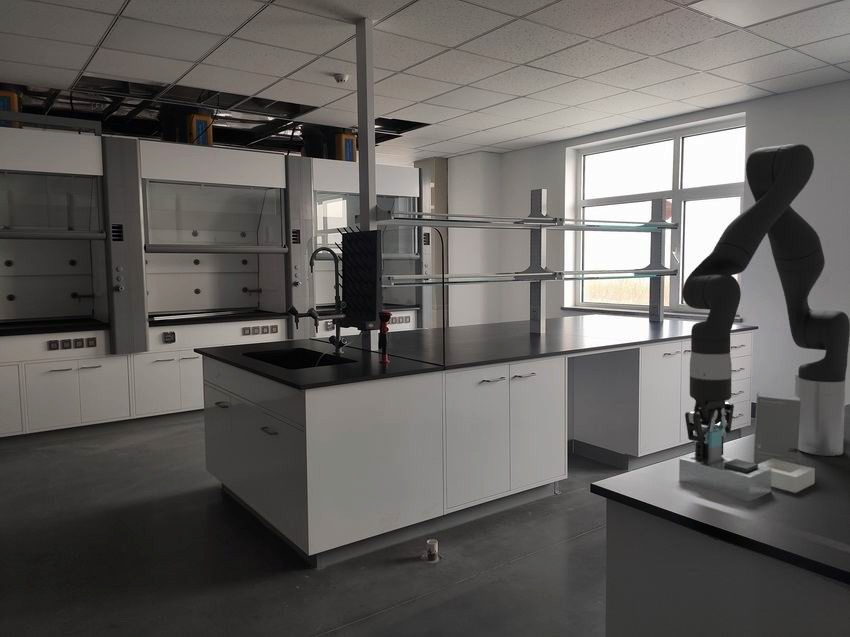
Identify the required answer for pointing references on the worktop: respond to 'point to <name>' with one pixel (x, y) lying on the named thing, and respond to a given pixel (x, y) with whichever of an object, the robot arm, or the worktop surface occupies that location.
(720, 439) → the plug
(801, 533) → the worktop surface
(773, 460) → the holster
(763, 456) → the skincare box
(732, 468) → the metal switch box
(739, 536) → the worktop surface
